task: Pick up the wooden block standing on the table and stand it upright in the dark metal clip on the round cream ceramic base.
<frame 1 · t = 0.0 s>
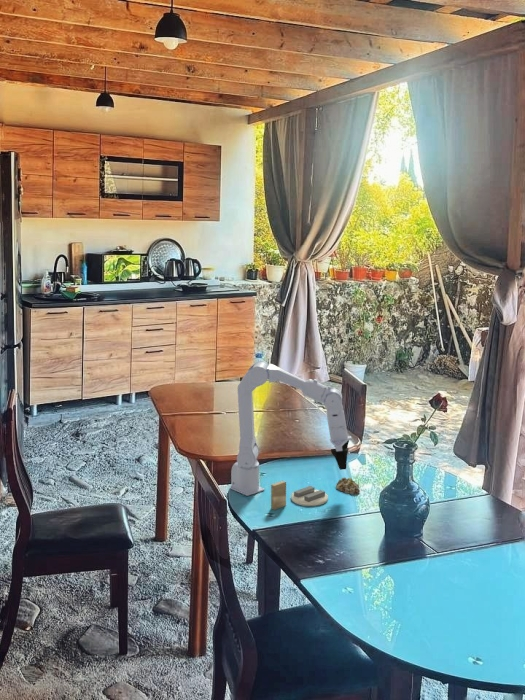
hand: (343, 465, 240), 11 cm above the table, tool pointing down, fingers open, 7 cm apart
clip base: (309, 498, 239), on the table
mineral rock: (348, 490, 248), on the table
wooden block: (278, 506, 233), on the table
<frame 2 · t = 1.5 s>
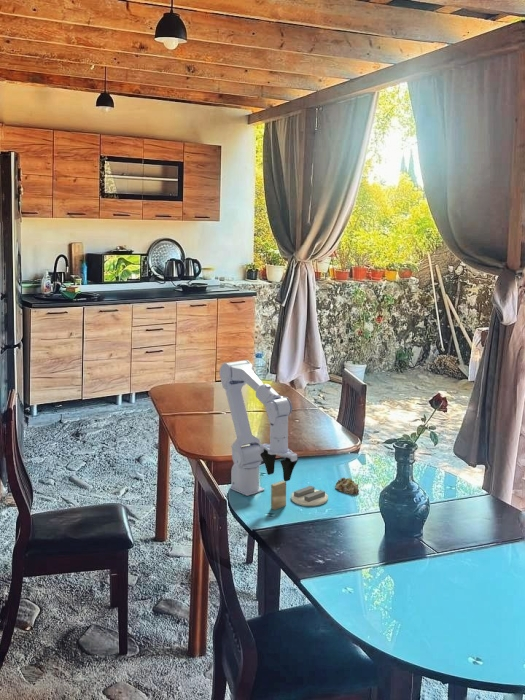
hand: (278, 477, 231), 10 cm above the table, tool pointing down, fingers open, 7 cm apart
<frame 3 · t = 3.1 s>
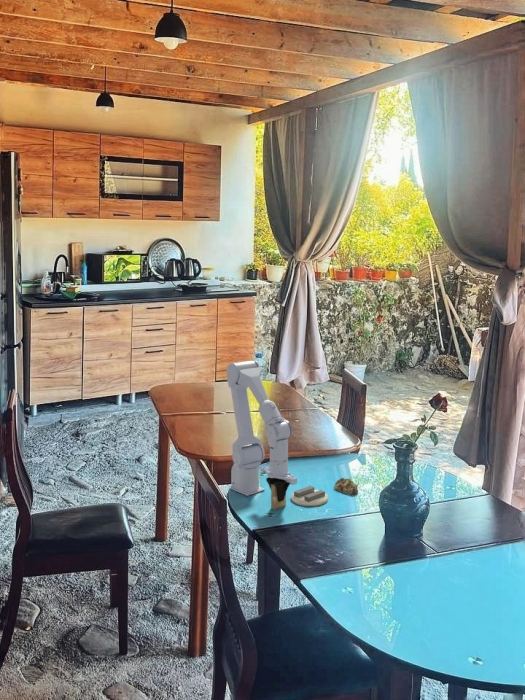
hand: (278, 499, 232), 2 cm above the table, tool pointing down, fingers closed on wooden block, 2 cm apart
wooden block: (278, 506, 233), on the table, touching gripper
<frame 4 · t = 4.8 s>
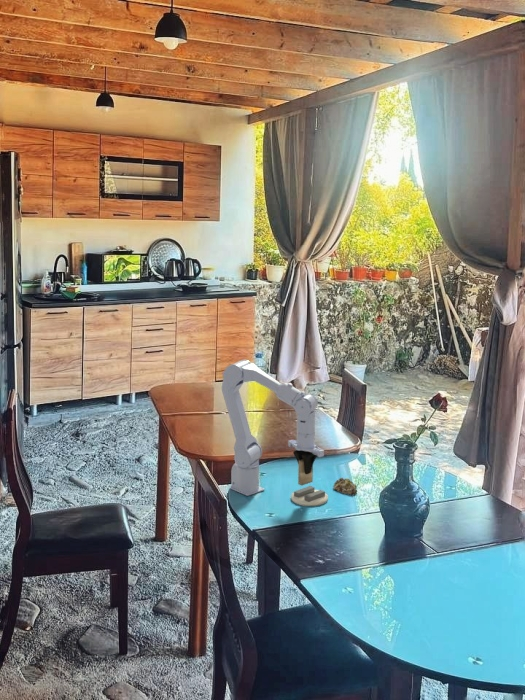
hand: (305, 472, 236), 9 cm above the table, tool pointing down, fingers closed on wooden block
wooden block: (305, 483, 237), point 6 cm above the table, touching gripper
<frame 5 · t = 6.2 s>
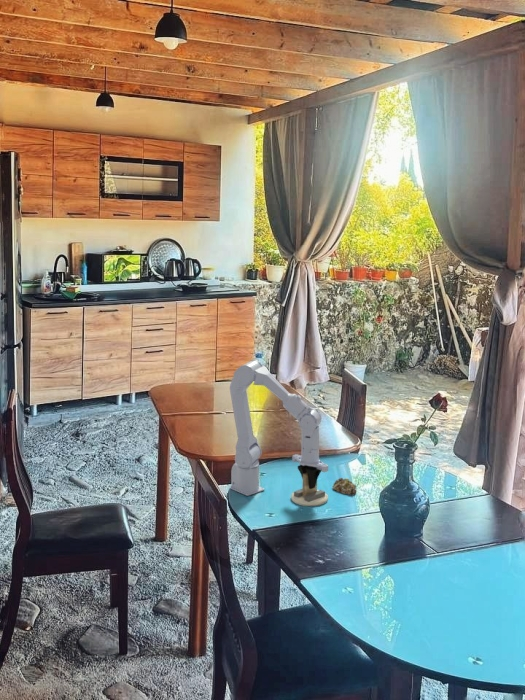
hand: (309, 487, 238), 4 cm above the table, tool pointing down, fingers closed on wooden block, 2 cm apart
wooden block: (309, 495, 239), point 1 cm above the table, touching clip base, gripper
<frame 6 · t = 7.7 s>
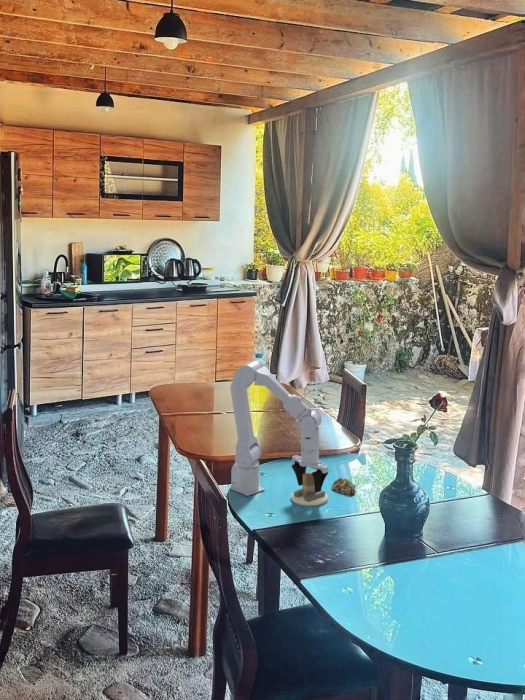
hand: (309, 488, 238), 4 cm above the table, tool pointing down, fingers open, 7 cm apart
wooden block: (309, 495, 239), point 1 cm above the table, touching clip base
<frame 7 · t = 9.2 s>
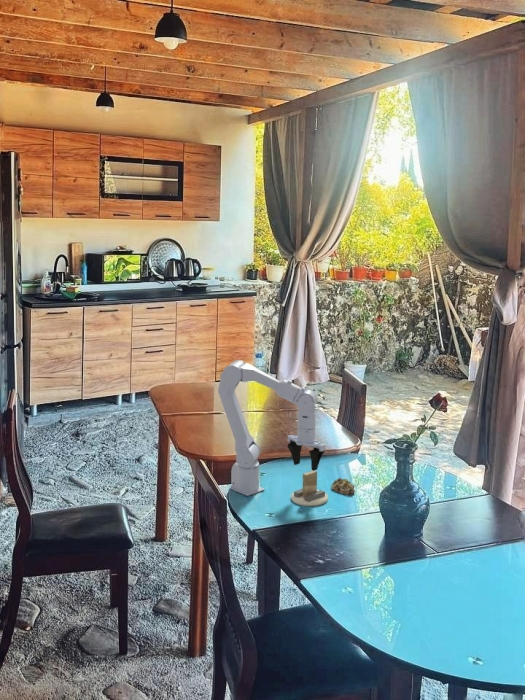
hand: (305, 466, 240), 10 cm above the table, tool pointing down, fingers open, 7 cm apart
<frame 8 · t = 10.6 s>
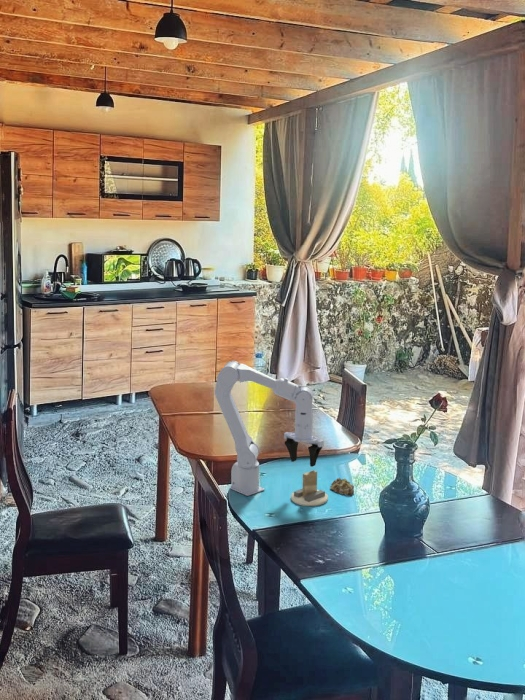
hand: (303, 463, 242), 10 cm above the table, tool pointing down, fingers open, 7 cm apart
at the end: wooden block 0.1 cm off-centre on the clip base, point 1.0 cm above the clip base's base; wooden block tilted 0°; the gripper is holding nothing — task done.
